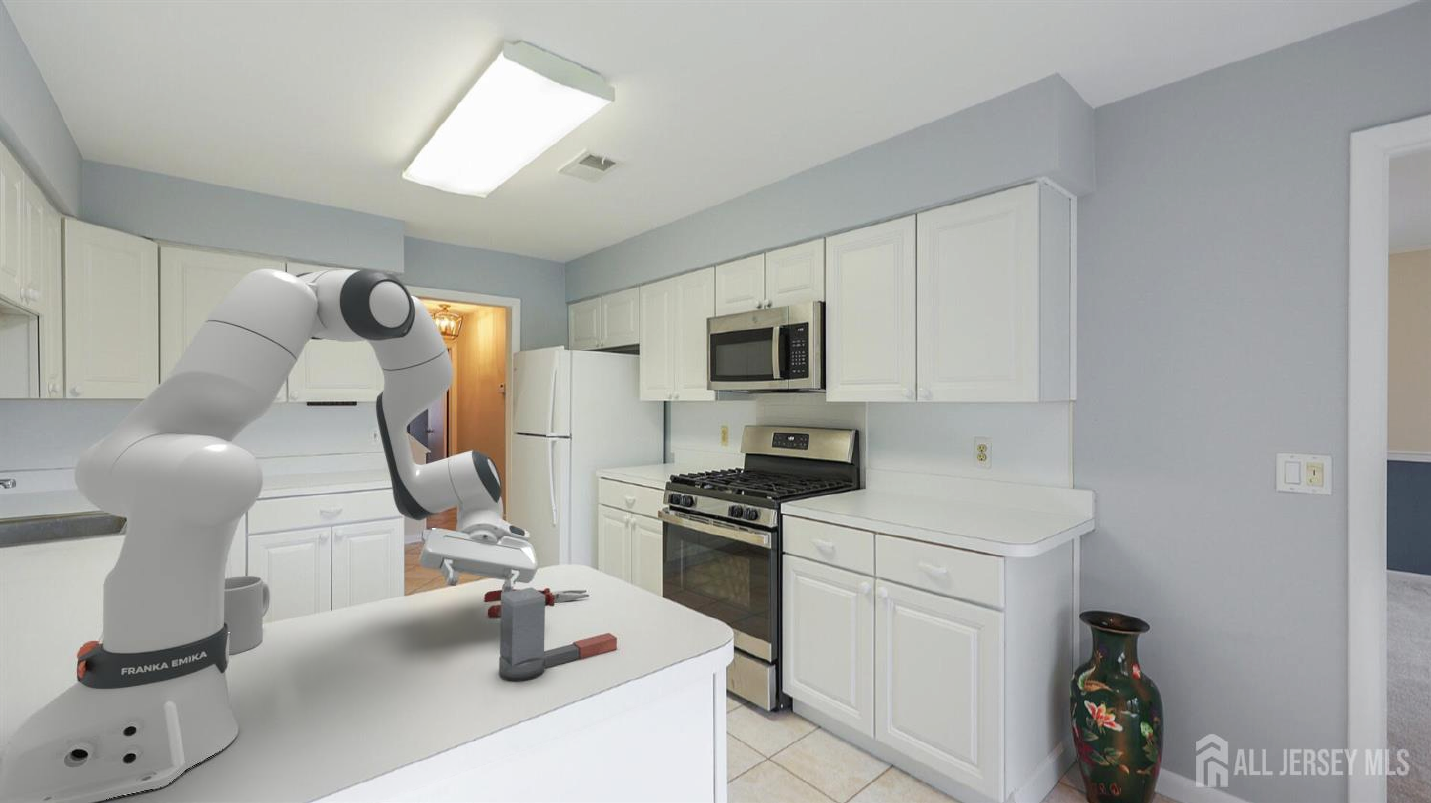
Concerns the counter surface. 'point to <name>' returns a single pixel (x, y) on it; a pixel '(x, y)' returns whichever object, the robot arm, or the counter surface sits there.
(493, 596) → the pliers
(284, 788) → the counter surface
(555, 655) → the ratchet
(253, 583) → the mug
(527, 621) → the grey square pillar
